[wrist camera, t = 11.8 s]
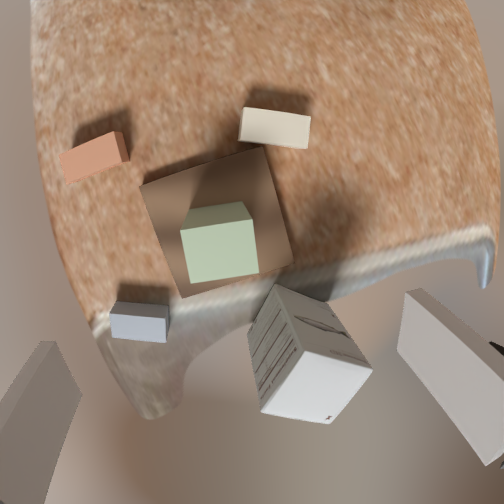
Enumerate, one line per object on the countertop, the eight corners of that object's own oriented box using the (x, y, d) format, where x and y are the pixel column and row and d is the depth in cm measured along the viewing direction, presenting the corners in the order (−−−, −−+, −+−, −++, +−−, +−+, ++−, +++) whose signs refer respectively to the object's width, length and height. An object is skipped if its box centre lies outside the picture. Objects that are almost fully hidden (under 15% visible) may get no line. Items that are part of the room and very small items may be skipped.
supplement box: (329, 302, 35) (377, 369, 23) (298, 352, 36) (329, 427, 25) (273, 279, 33) (306, 349, 21) (243, 334, 35) (258, 415, 23)
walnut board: (141, 185, 28) (139, 186, 27) (260, 146, 28) (262, 146, 27) (183, 293, 32) (182, 298, 31) (291, 259, 32) (294, 263, 31)
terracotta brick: (79, 181, 27) (66, 184, 25) (71, 154, 26) (58, 155, 24) (130, 161, 28) (121, 162, 25) (122, 132, 27) (113, 131, 24)
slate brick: (118, 323, 33) (112, 337, 30) (116, 300, 32) (109, 313, 29) (169, 327, 34) (166, 342, 31) (168, 304, 33) (165, 318, 30)
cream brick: (237, 141, 28) (240, 140, 25) (241, 111, 27) (243, 106, 25) (298, 148, 29) (307, 148, 26) (301, 119, 28) (310, 116, 25)
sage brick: (188, 209, 28) (180, 230, 21) (242, 201, 29) (252, 219, 21) (196, 249, 30) (190, 283, 22) (247, 241, 30) (259, 272, 22)
